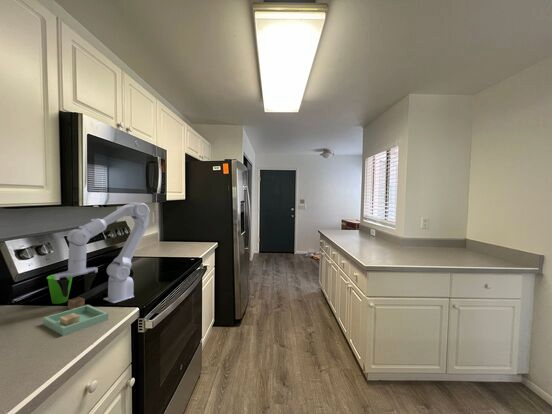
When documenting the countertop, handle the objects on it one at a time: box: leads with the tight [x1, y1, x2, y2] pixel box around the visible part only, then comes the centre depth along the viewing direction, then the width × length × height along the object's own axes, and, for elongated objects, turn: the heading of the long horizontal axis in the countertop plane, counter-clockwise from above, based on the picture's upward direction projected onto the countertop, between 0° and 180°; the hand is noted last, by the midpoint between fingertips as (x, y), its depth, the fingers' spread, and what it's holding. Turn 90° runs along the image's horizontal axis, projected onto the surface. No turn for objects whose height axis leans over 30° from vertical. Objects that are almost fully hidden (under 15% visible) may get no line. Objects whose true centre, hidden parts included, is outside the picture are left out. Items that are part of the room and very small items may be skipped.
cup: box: [46, 274, 73, 305], centre depth 113 cm, size 9×9×11 cm
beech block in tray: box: [60, 313, 79, 326], centre depth 90 cm, size 4×4×4 cm
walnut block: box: [67, 296, 86, 310], centre depth 107 cm, size 4×4×4 cm
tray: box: [42, 304, 109, 337], centre depth 95 cm, size 14×14×3 cm
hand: (76, 293), depth 107 cm, fingers open, 7 cm apart
